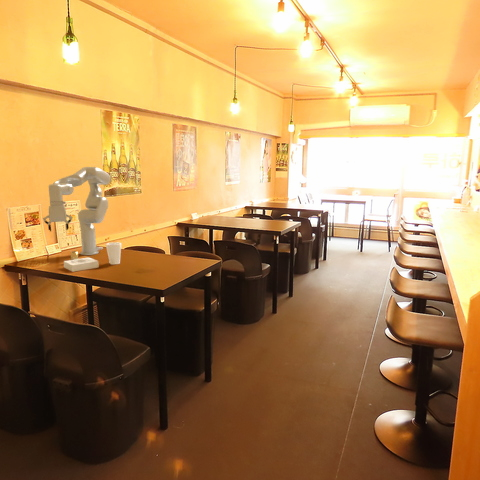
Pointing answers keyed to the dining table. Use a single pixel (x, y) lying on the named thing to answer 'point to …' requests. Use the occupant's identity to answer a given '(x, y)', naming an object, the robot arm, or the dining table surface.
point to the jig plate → (81, 264)
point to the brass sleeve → (74, 255)
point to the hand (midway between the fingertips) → (58, 230)
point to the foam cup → (114, 252)
